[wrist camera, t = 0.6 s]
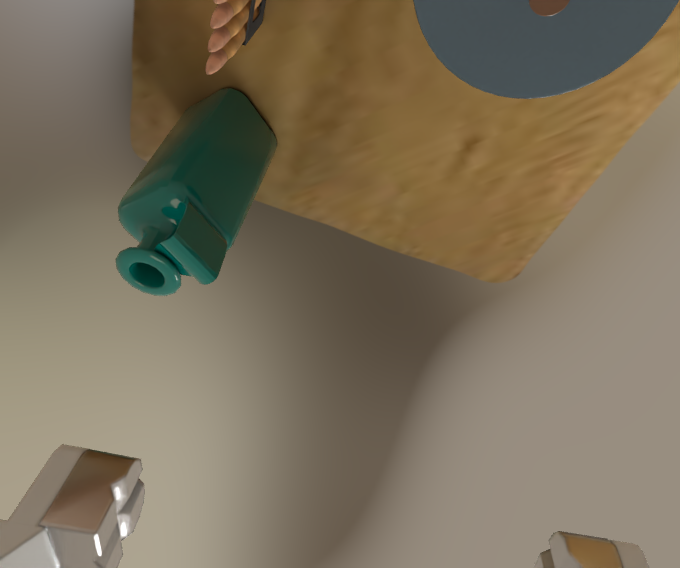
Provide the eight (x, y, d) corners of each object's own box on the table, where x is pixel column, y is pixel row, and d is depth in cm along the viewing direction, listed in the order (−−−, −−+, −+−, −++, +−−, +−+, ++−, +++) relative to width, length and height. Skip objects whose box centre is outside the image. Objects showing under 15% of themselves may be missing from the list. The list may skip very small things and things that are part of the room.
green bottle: (227, 173, 62) (147, 322, 48) (176, 113, 58) (70, 257, 43) (295, 142, 58) (230, 296, 43) (246, 73, 53) (154, 219, 38)
